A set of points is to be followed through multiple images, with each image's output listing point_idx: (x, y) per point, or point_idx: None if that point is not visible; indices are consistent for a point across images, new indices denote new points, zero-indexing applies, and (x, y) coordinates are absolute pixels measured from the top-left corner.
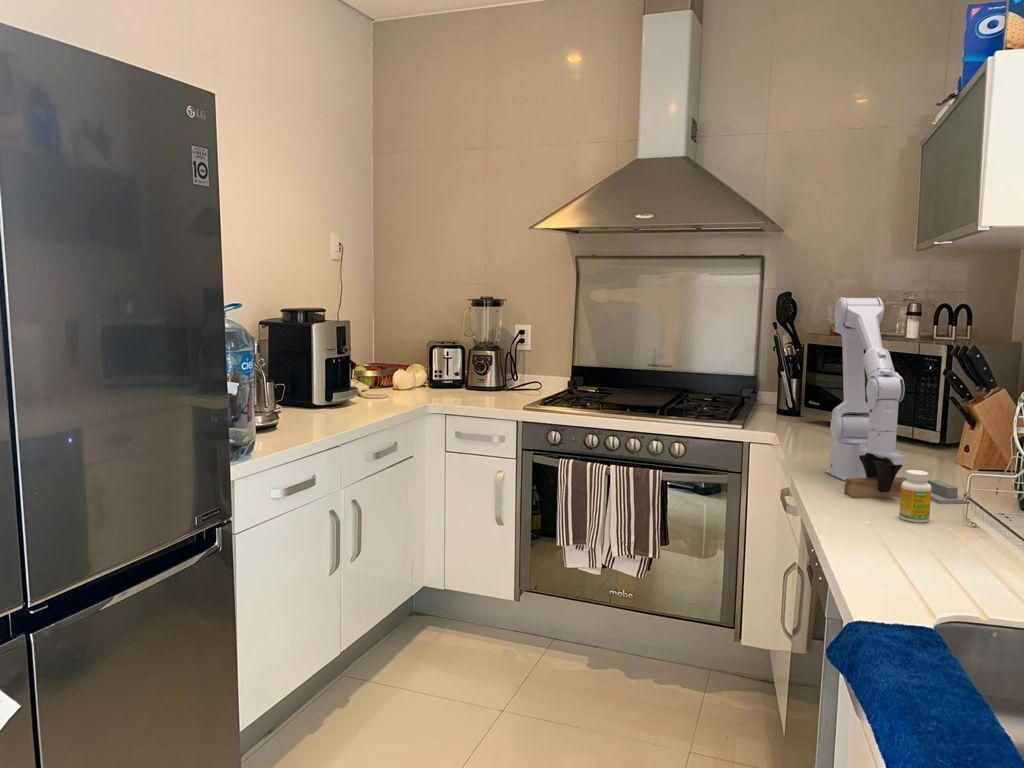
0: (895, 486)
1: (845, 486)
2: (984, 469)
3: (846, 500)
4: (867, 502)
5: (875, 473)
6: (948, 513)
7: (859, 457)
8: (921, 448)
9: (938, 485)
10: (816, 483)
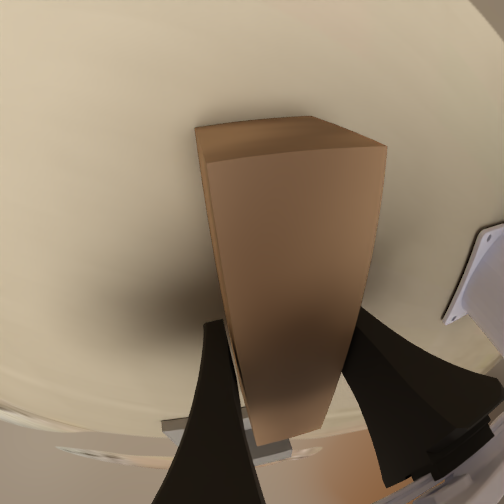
0: (244, 395)
1: (331, 127)
2: None
3: (125, 64)
4: (91, 201)
5: (362, 379)
6: (54, 407)
7: (499, 387)
8: (486, 373)
9: None
10: (489, 98)
